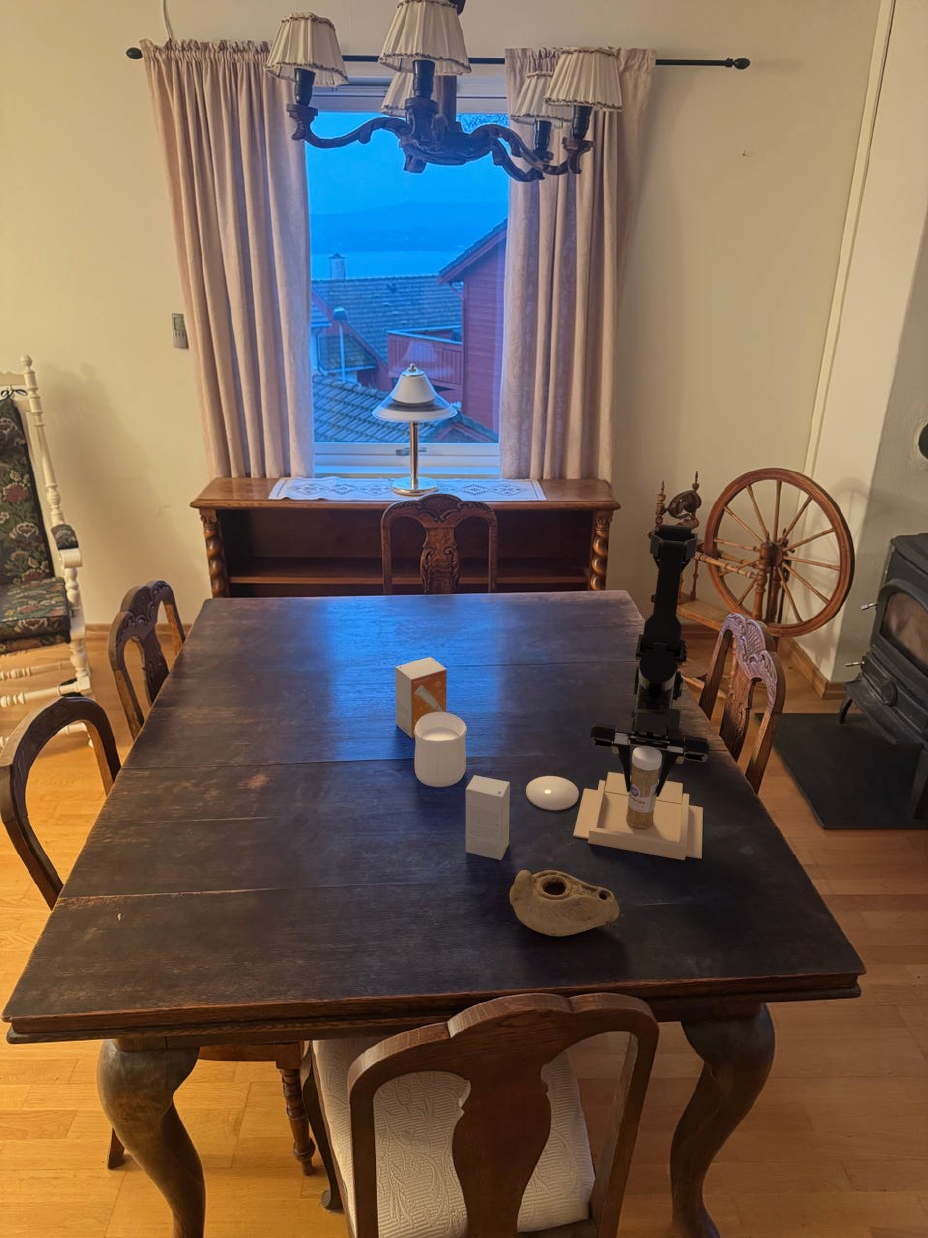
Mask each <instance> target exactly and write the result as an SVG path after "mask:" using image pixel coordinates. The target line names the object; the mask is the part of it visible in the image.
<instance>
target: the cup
mask: <svg viewBox="0 0 928 1238" xmlns="http://www.w3.org/2000/svg"><path fill="white" fill-rule="evenodd" d="M467 728H468V727H467V726H466V723H465V722H464V720H462V719H461V718H460V717H459V716H457V715H455V714H453V713H450V712H447V711H446V712H433V713H428V714H426V715H424V716H422V717H421V718H420V719H419V720H418V722H417V723H416V726H415V730H414V733H415V737H414V740H415V748H414V772H415V775H416V779H418V780H419V782H421V784H423V785H426V786H427V787H434V788H444V787H450V786H453V785H455V784H457V783H458V782H459V781H461V779H462V778H463V777H464V775H465V772H466V770H467V766H466V765H467V752H466V737H467V736H466V735H467V732H468V729H467Z"/></svg>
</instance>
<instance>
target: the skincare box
mask: <svg viewBox="0 0 928 1238" xmlns="http://www.w3.org/2000/svg"><path fill="white" fill-rule="evenodd" d="M510 794H511V782H510V781H505V780H500V779H496V778H495V779H494V778H490V777H484V776H480V775H475V774H474V775H473V777H472V779H471V780H470V782H469V783H468V785H467V786H466V788H465V852H466V853H468V854H473V855H478V856H480V857H481V856H482V857H487V858H490V859H495V860H499V861H502V859H503V858H504V855H505V853H506V851H507V848H508V847H509V844H510V837H509V836H510V800H511V799H510V798H511V795H510Z"/></svg>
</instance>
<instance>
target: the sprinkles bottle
mask: <svg viewBox="0 0 928 1238" xmlns="http://www.w3.org/2000/svg"><path fill="white" fill-rule="evenodd" d="M662 758H663V755H662V752H661V750H660V749H656V748H654V747H651V746H636V747H635V748H634V750H633V751H632V757H631V761H632V762H631V763H632V768H631V773H630V775H631V783H630V791H629V796H628V808H627V815H626V821H627V822H628V823H629V825H631V826H632V827H635V828H639V829H645V828H648V827H650V826H651V825H652V824H653V814H654V808H655V802H656V794H657V786H658V780H659V777H660V776H659V774H660V769H661V766H662V762H663V761H662V760H663V759H662Z"/></svg>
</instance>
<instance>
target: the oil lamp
mask: <svg viewBox="0 0 928 1238" xmlns="http://www.w3.org/2000/svg"><path fill="white" fill-rule="evenodd" d="M509 903H510V904H511V905H512V908H513V910H514V913H515V914H516V917H517V919H518V920H519V921H520V922H521V923H522V924H523V925H525V926H526V927H527V928H529V929H531V930H532V931H535V932H537V933H540V934H545V935H546V936H550V937H564V936H570V935H571V936H572V935H575V934H579V933H582V932H586V931H588V930H591V929H594V928H598V927H601V926H603V925H606V924H609V923H611V922H614V921H616V920H617V919H618V918H619V916H620V907H619V905H618V902H617V900H616V898H615V895H614V893H613V892H612V891H610V890H609V889H607V888H605V887H602V886H597V885H596V886H595V885H591V884H589V883H587V882H585V881H582V880H580V879H578V878H577V877H575V876H572V875H570V874H569V873H566V872H563V871H559V870H551V869H549V870H543V871H540V872H536V873H535V874H532V873H531V872H530V871H529V870H527V869H524V870H523V869H522V870H520V871H519V872H518V874H517V875H516V877H515V880H514V883H513V885H511V886H510V890H509Z"/></svg>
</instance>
